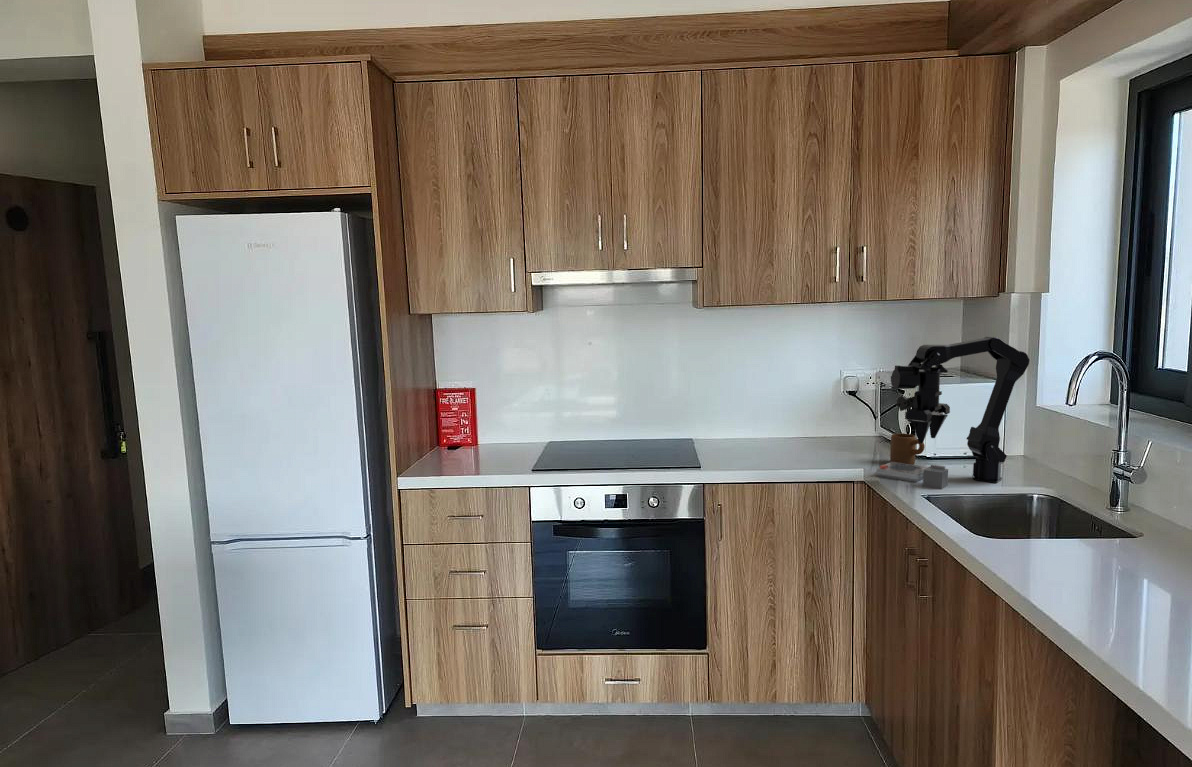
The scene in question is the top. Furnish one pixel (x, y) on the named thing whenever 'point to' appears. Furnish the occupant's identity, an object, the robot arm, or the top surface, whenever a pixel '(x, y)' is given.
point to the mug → (904, 448)
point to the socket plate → (901, 471)
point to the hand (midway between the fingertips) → (926, 440)
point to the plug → (935, 477)
